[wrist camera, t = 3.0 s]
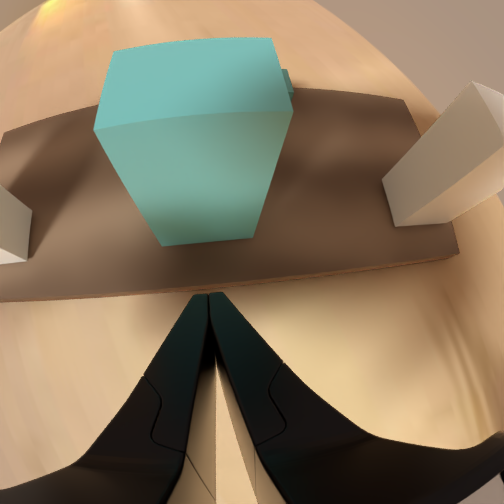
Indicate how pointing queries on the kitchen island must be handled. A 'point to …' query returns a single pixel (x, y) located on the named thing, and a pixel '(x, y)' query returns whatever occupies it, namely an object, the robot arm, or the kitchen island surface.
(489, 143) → the grey key
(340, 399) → the kitchen island surface
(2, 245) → the grey key
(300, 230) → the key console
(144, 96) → the teal key
